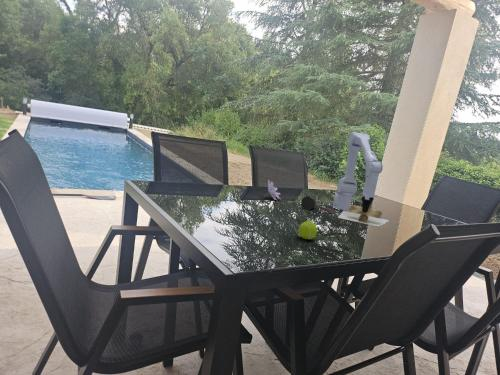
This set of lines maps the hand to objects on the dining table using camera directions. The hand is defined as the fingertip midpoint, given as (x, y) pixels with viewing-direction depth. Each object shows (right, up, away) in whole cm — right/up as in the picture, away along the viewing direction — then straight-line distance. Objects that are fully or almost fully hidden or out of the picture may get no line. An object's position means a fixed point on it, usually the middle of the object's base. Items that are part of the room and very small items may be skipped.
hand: (364, 211), depth 194 cm
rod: (0, -2, 0) cm, 2 cm away
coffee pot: (-22, -1, +11) cm, 25 cm away
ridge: (-1, -4, +1) cm, 5 cm away
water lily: (-46, +5, +24) cm, 52 cm away
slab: (+1, -5, +5) cm, 7 cm away
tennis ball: (-36, -8, -45) cm, 59 cm away
